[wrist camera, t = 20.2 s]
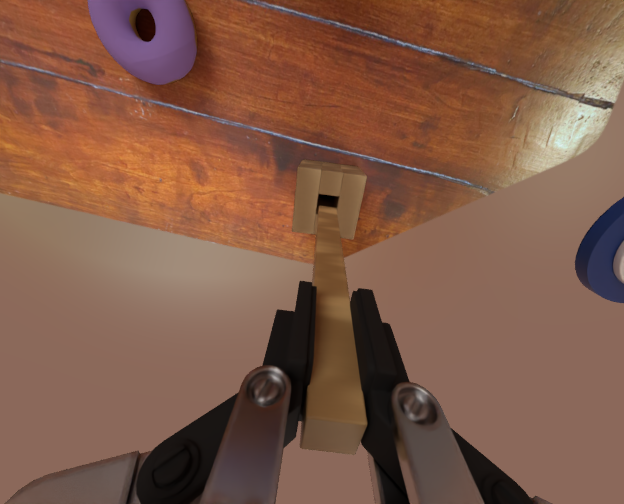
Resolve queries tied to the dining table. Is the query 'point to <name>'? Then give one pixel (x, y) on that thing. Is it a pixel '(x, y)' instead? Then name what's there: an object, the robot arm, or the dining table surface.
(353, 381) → the stick
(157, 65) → the donut
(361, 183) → the holder
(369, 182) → the dining table surface
